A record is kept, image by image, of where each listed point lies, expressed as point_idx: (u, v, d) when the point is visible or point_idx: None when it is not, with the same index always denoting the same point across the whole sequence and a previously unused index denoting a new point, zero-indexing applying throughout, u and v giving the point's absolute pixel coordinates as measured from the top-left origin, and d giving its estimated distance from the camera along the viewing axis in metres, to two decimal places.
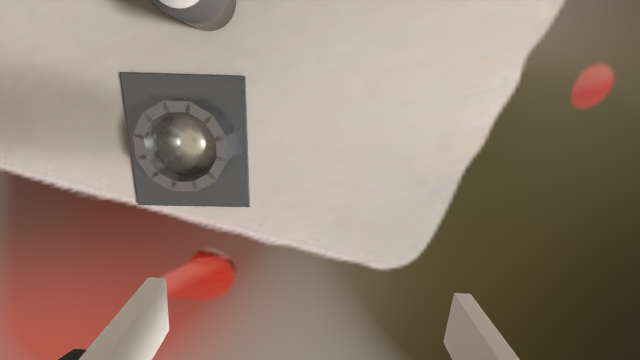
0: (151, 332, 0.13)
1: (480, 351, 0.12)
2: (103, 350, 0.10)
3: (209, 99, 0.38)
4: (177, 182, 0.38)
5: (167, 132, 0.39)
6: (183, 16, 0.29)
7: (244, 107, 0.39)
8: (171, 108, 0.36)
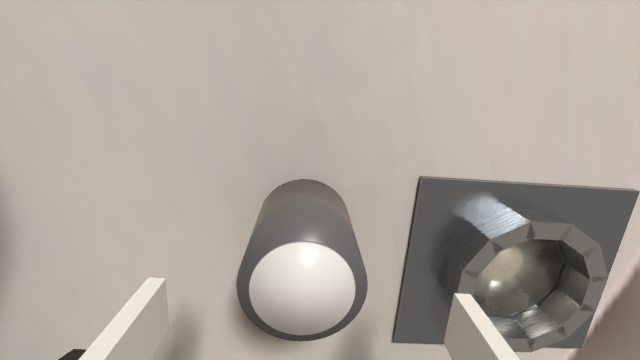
0: (151, 332, 0.13)
1: (480, 351, 0.12)
2: (103, 350, 0.10)
3: (448, 233, 0.24)
4: (583, 303, 0.23)
5: (486, 297, 0.26)
6: None
7: (471, 182, 0.23)
8: None
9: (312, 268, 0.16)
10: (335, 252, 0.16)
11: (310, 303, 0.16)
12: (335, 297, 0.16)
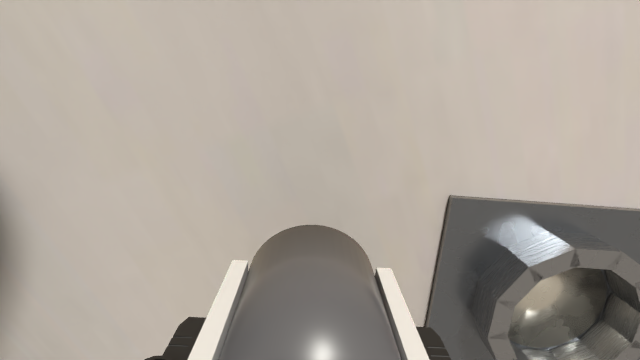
0: None
1: None
2: (221, 316, 0.12)
3: (480, 258, 0.22)
4: (634, 339, 0.21)
5: (521, 328, 0.24)
6: None
7: (506, 203, 0.21)
8: (503, 328, 0.21)
9: None
10: None
11: None
12: None
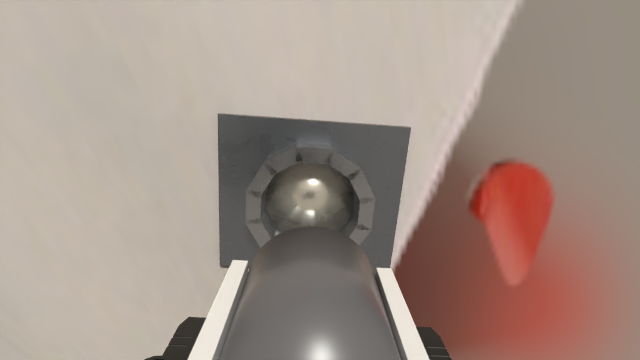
0: None
1: None
2: (221, 316, 0.12)
3: (249, 164, 0.28)
4: (359, 222, 0.27)
5: (293, 224, 0.30)
6: None
7: (260, 118, 0.27)
8: (255, 214, 0.27)
9: None
10: None
11: None
12: None
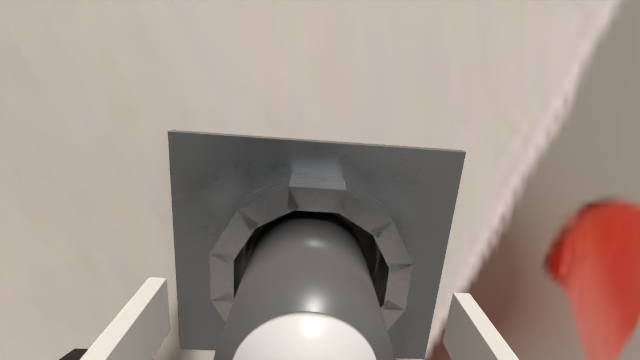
0: (152, 332, 0.13)
1: (479, 350, 0.12)
2: (105, 349, 0.10)
3: (219, 207, 0.19)
4: (386, 299, 0.18)
5: None
6: None
7: (234, 138, 0.17)
8: (226, 288, 0.17)
9: (318, 350, 0.11)
10: (351, 328, 0.11)
11: None
12: None
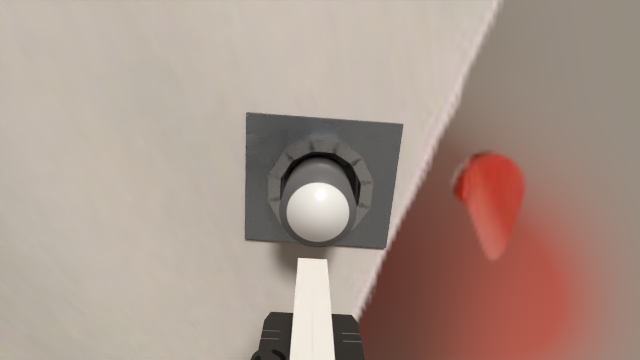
0: None
1: None
2: (306, 310, 0.13)
3: (271, 154, 0.34)
4: (360, 201, 0.33)
5: None
6: (355, 211, 0.28)
7: (280, 116, 0.33)
8: (276, 194, 0.33)
9: (324, 198, 0.27)
10: (337, 189, 0.27)
11: (322, 221, 0.27)
12: (337, 217, 0.27)
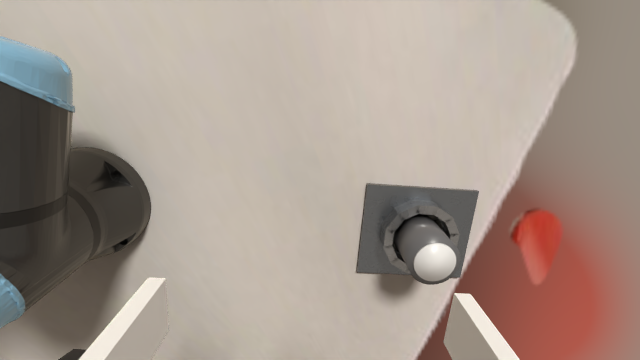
0: (151, 332, 0.13)
1: (480, 351, 0.12)
2: (103, 350, 0.10)
3: (382, 212, 0.47)
4: None
5: None
6: (459, 261, 0.41)
7: (391, 186, 0.46)
8: (389, 243, 0.46)
9: (440, 253, 0.40)
10: (449, 247, 0.40)
11: (437, 267, 0.41)
12: (447, 265, 0.40)
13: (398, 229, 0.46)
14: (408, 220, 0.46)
